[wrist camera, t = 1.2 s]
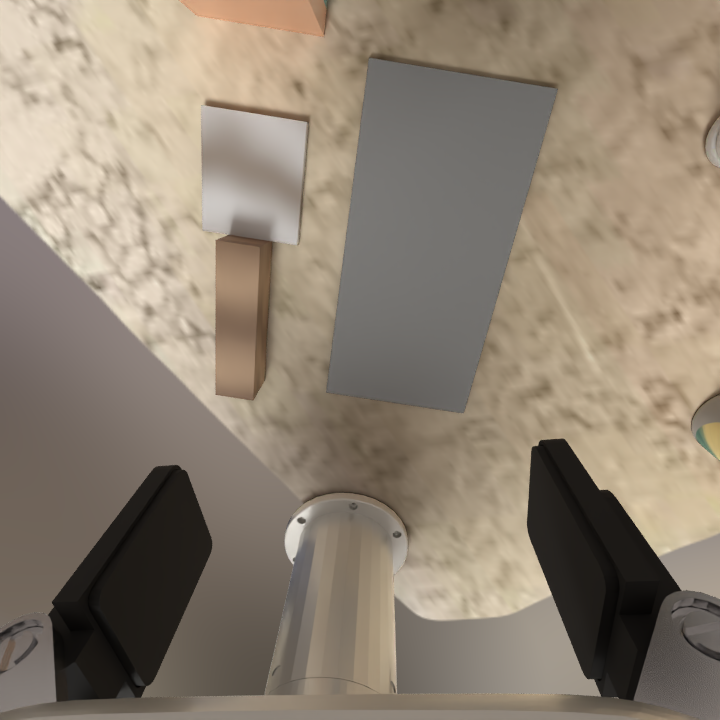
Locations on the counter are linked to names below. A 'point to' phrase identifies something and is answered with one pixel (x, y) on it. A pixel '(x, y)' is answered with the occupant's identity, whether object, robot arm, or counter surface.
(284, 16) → the kitchen sponge
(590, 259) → the counter surface
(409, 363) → the mat
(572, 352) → the counter surface
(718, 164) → the light bulb
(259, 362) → the turner
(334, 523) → the robot arm
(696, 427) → the lotion bottle
